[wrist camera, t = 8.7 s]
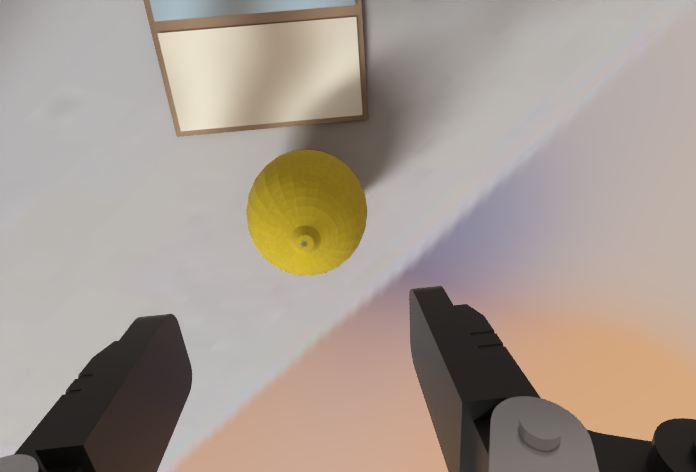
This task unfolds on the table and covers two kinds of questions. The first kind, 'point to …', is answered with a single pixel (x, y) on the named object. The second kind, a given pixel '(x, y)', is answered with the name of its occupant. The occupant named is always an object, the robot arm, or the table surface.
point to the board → (259, 62)
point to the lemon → (306, 212)
